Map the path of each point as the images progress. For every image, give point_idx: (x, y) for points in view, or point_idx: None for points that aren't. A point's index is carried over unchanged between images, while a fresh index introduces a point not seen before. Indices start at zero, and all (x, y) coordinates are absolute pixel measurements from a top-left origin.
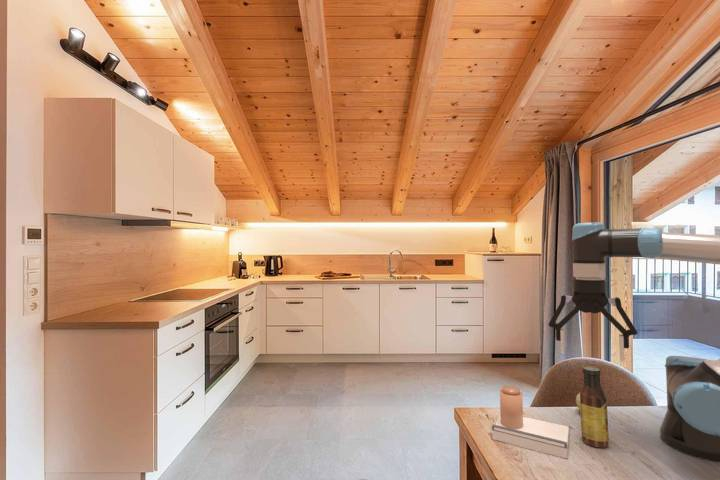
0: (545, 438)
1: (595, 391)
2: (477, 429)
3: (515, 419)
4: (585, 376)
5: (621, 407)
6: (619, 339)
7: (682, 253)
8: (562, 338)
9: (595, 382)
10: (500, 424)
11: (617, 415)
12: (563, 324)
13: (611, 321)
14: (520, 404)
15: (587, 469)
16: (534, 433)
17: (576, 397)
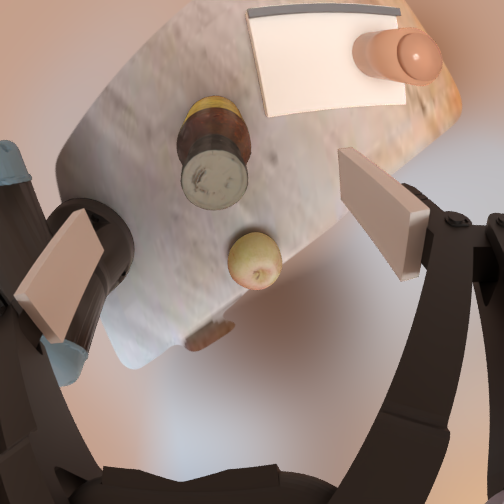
0: (293, 5)
1: (197, 128)
2: None
3: (371, 33)
4: (232, 147)
5: (213, 310)
6: (60, 305)
7: None
8: (385, 180)
9: (196, 144)
10: None
11: (209, 275)
12: (439, 250)
13: (17, 381)
14: (380, 42)
15: (203, 5)
16: (323, 36)
17: (281, 259)
